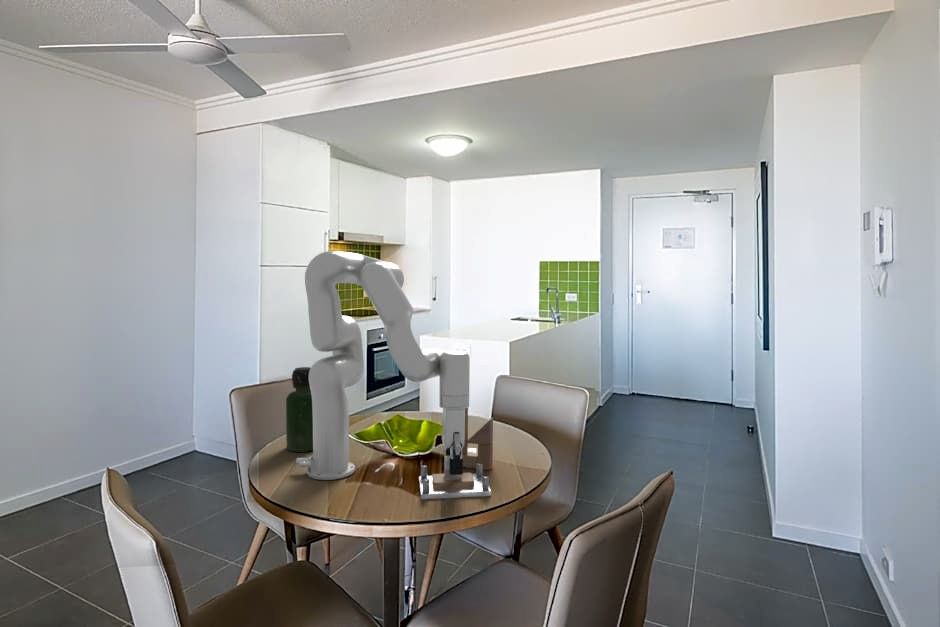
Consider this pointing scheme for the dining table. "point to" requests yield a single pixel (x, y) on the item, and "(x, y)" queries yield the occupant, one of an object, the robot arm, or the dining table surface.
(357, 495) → the dining table surface
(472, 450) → the butcher knife
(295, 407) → the green bottle
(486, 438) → the wooden block
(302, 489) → the dining table surface
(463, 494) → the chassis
